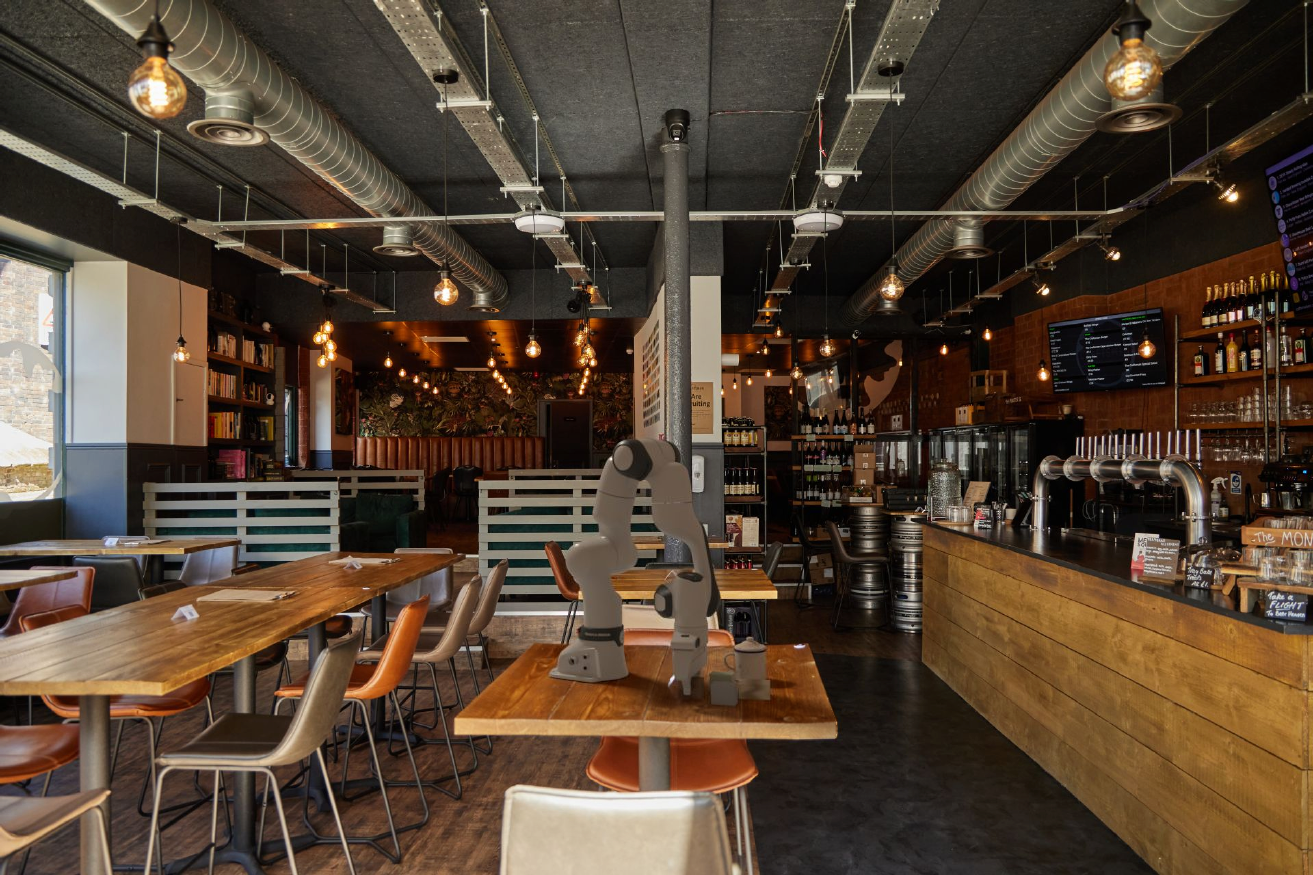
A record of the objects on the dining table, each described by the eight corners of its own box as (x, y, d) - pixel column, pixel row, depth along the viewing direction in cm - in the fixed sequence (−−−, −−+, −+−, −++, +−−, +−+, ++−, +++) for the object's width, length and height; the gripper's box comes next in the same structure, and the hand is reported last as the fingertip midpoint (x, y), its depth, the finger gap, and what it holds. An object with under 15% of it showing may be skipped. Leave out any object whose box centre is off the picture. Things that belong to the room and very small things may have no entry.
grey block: (711, 704, 214) (711, 684, 214) (714, 700, 217) (714, 680, 217) (734, 706, 212) (734, 685, 212) (737, 702, 215) (737, 682, 216)
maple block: (738, 699, 219) (738, 683, 219) (739, 694, 223) (739, 679, 224) (770, 700, 217) (770, 684, 218) (770, 695, 222) (770, 679, 223)
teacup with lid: (767, 676, 242) (767, 634, 242) (766, 684, 233) (765, 641, 233) (725, 674, 244) (724, 633, 244) (722, 682, 235) (721, 640, 235)
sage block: (709, 693, 224) (709, 674, 225) (712, 690, 228) (712, 671, 228) (732, 695, 223) (731, 675, 223) (734, 691, 226) (734, 672, 226)
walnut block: (678, 698, 220) (677, 678, 220) (681, 695, 223) (681, 675, 223) (700, 700, 218) (700, 680, 218) (704, 696, 221) (704, 677, 221)
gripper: (690, 628, 232) (690, 679, 231) (668, 643, 212) (668, 699, 212) (712, 629, 230) (713, 681, 230) (692, 644, 211) (693, 701, 210)
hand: (691, 690), depth 221 cm, fingers open, 7 cm apart
